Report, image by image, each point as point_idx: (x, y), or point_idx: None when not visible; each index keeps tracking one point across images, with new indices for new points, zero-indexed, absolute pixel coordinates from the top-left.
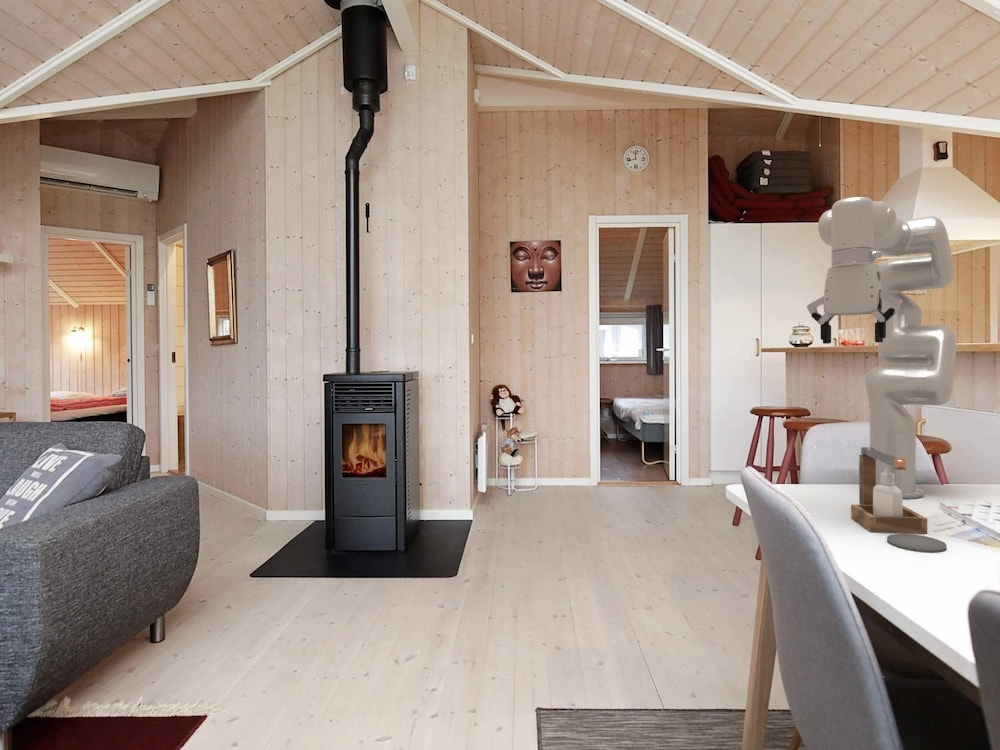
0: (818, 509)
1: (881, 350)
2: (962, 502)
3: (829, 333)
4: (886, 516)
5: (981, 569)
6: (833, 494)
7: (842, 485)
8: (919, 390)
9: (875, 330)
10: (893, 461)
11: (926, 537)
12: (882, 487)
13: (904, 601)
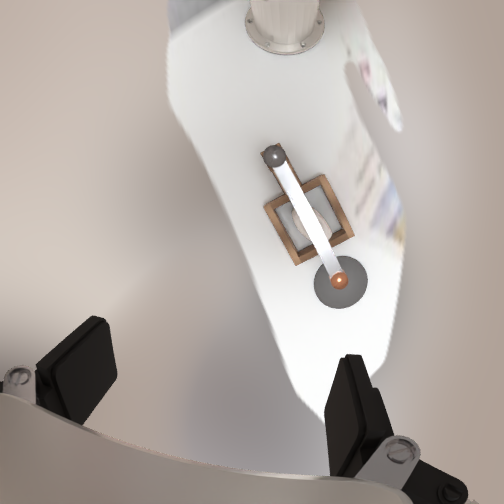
0: (218, 178)
1: None
2: (369, 37)
3: (87, 370)
4: (312, 252)
5: (386, 327)
6: (215, 74)
7: (215, 14)
8: None
9: (331, 451)
10: (330, 276)
11: (350, 262)
12: (307, 237)
13: None
